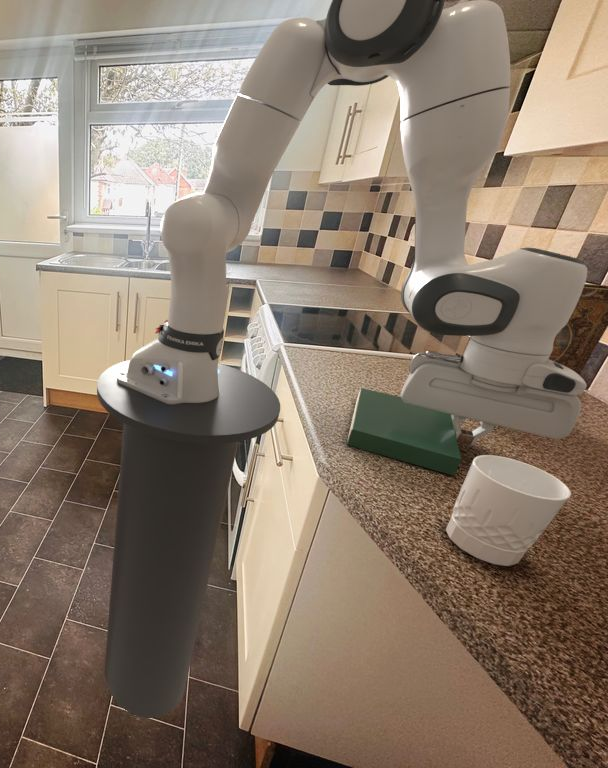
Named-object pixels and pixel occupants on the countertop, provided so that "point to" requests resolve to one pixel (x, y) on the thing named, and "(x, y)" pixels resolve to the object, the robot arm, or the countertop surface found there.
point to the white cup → (504, 508)
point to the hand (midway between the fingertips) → (462, 441)
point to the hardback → (404, 432)
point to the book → (581, 329)
